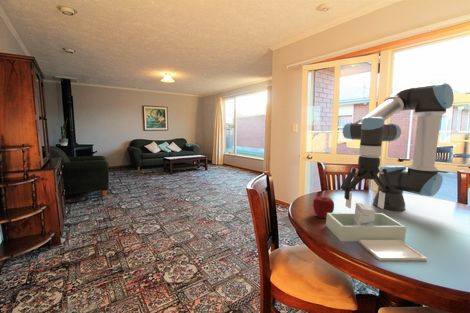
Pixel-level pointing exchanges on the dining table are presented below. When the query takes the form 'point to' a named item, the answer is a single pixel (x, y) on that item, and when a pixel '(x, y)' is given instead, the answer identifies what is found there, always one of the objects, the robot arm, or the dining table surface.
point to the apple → (323, 206)
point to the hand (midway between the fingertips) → (364, 207)
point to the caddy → (365, 228)
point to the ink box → (364, 215)
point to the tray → (392, 250)
